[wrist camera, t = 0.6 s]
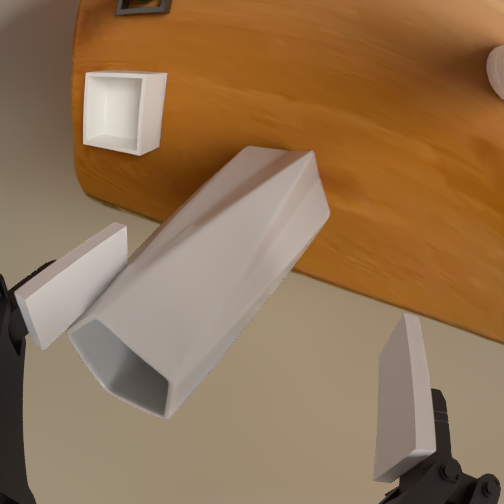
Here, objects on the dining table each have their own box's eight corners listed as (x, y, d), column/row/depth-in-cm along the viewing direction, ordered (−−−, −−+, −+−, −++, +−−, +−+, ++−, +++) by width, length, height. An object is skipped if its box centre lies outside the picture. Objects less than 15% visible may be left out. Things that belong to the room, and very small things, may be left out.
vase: (317, 238, 43) (214, 470, 15) (241, 204, 44) (62, 375, 17) (353, 158, 36) (293, 369, 9) (266, 123, 38) (25, 217, 10)
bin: (108, 70, 38) (85, 72, 34) (167, 73, 37) (146, 74, 33) (103, 136, 45) (83, 143, 41) (159, 147, 43) (139, 155, 39)
